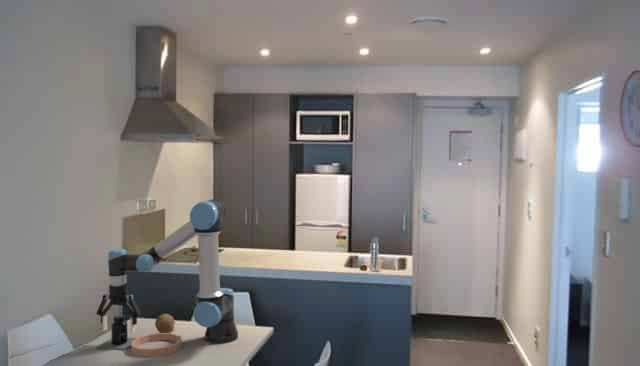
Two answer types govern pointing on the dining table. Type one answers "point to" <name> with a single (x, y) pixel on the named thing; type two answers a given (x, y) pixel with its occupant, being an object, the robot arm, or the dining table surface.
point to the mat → (109, 345)
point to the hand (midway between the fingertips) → (119, 331)
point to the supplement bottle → (119, 330)
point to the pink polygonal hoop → (156, 351)
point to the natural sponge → (165, 323)
